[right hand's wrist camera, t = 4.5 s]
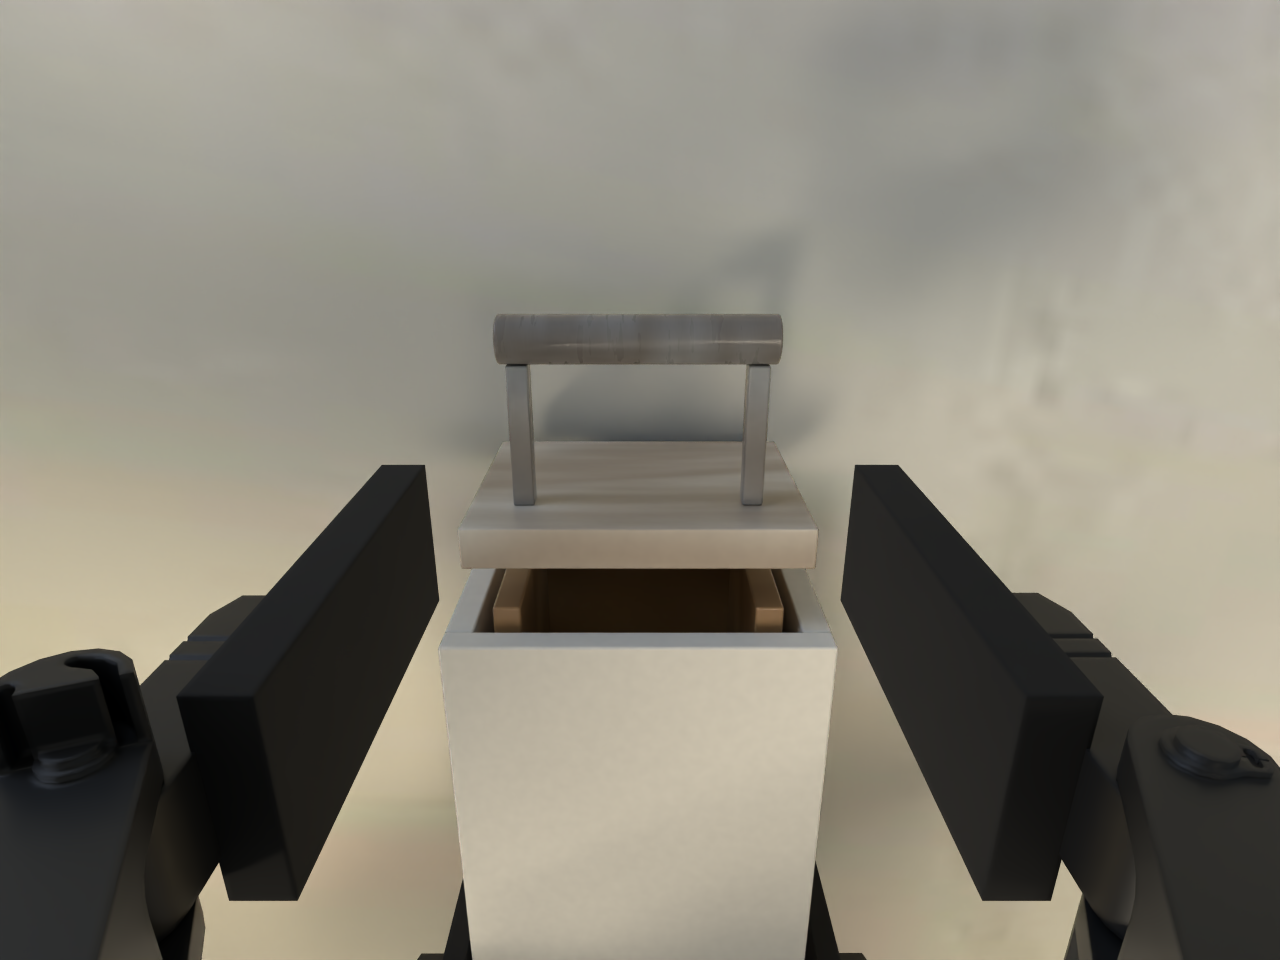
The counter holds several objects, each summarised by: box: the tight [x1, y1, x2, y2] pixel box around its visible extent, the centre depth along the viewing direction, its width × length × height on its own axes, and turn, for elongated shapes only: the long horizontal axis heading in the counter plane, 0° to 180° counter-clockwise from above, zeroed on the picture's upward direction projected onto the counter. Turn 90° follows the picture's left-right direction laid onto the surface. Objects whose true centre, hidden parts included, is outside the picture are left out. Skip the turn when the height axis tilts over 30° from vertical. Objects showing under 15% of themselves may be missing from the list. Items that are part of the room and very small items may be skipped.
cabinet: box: [438, 569, 838, 960], centre depth 29 cm, size 18×11×9 cm, turn 0°
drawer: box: [458, 314, 819, 633], centre depth 26 cm, size 23×10×7 cm, turn 0°
